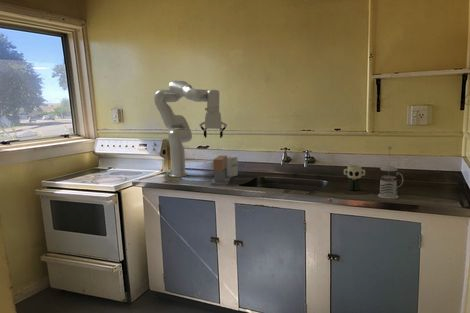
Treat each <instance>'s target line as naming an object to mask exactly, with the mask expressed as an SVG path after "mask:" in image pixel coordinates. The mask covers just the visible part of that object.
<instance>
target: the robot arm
mask: <svg viewBox="0 0 470 313" xmlns="http://www.w3.org/2000/svg"><path fill="white" fill-rule="evenodd" d="M183 97H185V99H186V100H189V101H193V102H199V103H200V102H202V103H206V107H205V108H204V110H205V111H206V112H205V114H204V115H205V116H204V121H203V122H201V123H199V127H200V129H201V130H202V131H203V137H204V138H207V136H208V134H207V133H208V132H207V130H208V129H209V130H211V129H215V130H216V129H218V130H219V131H220V132H219V139H222V137H224V136H223V135H224V134H223V133H224V130H226V128H227V126H228V124H227V123H225V122H223V121H222V115H221V112H220V90H218V89H199V88H193V86H192V85H191V84H189V83H188V82H187V81H184V80H172V81H171V82H169V84H168V89H159V90H157V91H156V92H155V93H154V97H153V99H154V100H153V101H154V105H155V106H156V109H157V110H158V112H159V115H160V117H161V119H162V121H163V124H164V126H165V128H166V129H168V130H170V131H169V132H168V135H167V140H168V143H169V148H170V149H169V153H170V169H165V170H164V172H165V174H169V177H172V178H181V177H186V176H188V175H189V173H188V172H186V156H185V155H186V154H185V147H184V145H183V144H184V143H189V142H190V141H191V140H192V138H193V133H192V131H191V128H190V125H189V123H188V121H187V120H186V119H187V118H185V117H184V116H183V115H181V114H175V113H174V111H173V109H172V107H171V106H170V105H169V104H168V103H176V102H178V101H180V100H181V99H182V98H183ZM203 125H204V126H203ZM222 126H223V128H222Z"/></svg>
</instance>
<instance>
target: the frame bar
mask: <svg viewBox="0 0 470 313" xmlns="http://www.w3.org/2000/svg"><path fill="white" fill-rule="evenodd" d="M227 157H228V155H218V156H217V157H215V158H213V159H212V160H213V164H212V165H213V172H214V171H223V170H224V169H225V168H226V167H227Z"/></svg>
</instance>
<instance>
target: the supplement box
mask: <svg viewBox="0 0 470 313" xmlns="http://www.w3.org/2000/svg"><path fill="white" fill-rule="evenodd" d="M238 169H239V168H238V157H237V156H227V176H231V178H232V177H237V176H238V174H239V173H238V172H239V171H238Z"/></svg>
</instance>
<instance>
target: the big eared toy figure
mask: <svg viewBox="0 0 470 313" xmlns="http://www.w3.org/2000/svg"><path fill="white" fill-rule="evenodd" d="M346 171H347V172H346ZM343 175H344V176H347V178H348V179H349V181H348V184H347V189H348V190H350V191H359V190H361V183H360V179H362V177H364V176H366V169H362V165H358V164H357V165H356V164H351V165H347V168H345V169H343Z"/></svg>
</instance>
